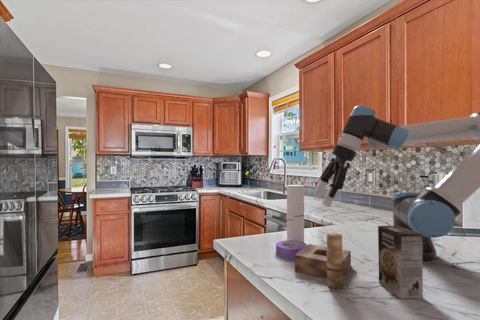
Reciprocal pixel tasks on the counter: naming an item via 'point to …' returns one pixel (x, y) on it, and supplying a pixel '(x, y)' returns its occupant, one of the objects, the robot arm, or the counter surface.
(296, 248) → the masking tape
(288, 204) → the cylindrical container
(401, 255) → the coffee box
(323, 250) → the seat block
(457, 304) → the counter surface
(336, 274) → the peg
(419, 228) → the robot arm
